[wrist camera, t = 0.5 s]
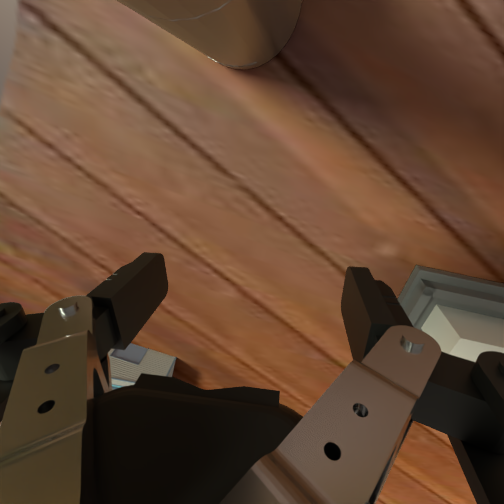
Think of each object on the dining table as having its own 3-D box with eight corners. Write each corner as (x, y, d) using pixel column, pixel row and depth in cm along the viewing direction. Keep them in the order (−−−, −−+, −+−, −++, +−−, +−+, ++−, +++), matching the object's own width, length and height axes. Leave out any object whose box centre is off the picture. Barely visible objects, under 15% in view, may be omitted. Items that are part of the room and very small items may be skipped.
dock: (416, 264, 29) (442, 299, 24) (590, 302, 28) (658, 346, 23) (347, 390, 39) (355, 433, 34) (472, 420, 38) (500, 469, 33)
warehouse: (157, 446, 57) (139, 491, 50) (92, 425, 56) (65, 467, 50) (177, 355, 42) (155, 400, 35) (90, 326, 42) (51, 367, 35)
